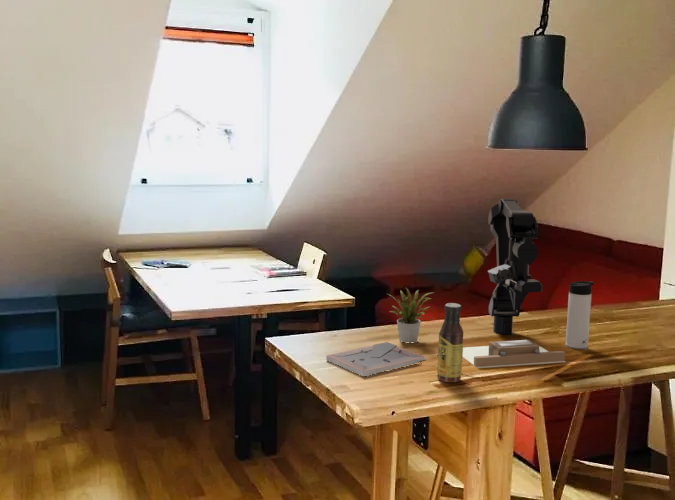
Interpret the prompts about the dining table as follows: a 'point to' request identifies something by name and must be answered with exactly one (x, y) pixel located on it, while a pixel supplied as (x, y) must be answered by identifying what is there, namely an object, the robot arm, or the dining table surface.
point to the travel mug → (578, 314)
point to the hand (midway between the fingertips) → (516, 310)
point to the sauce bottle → (450, 345)
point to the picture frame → (375, 358)
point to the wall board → (510, 357)
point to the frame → (512, 347)
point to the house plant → (409, 317)
